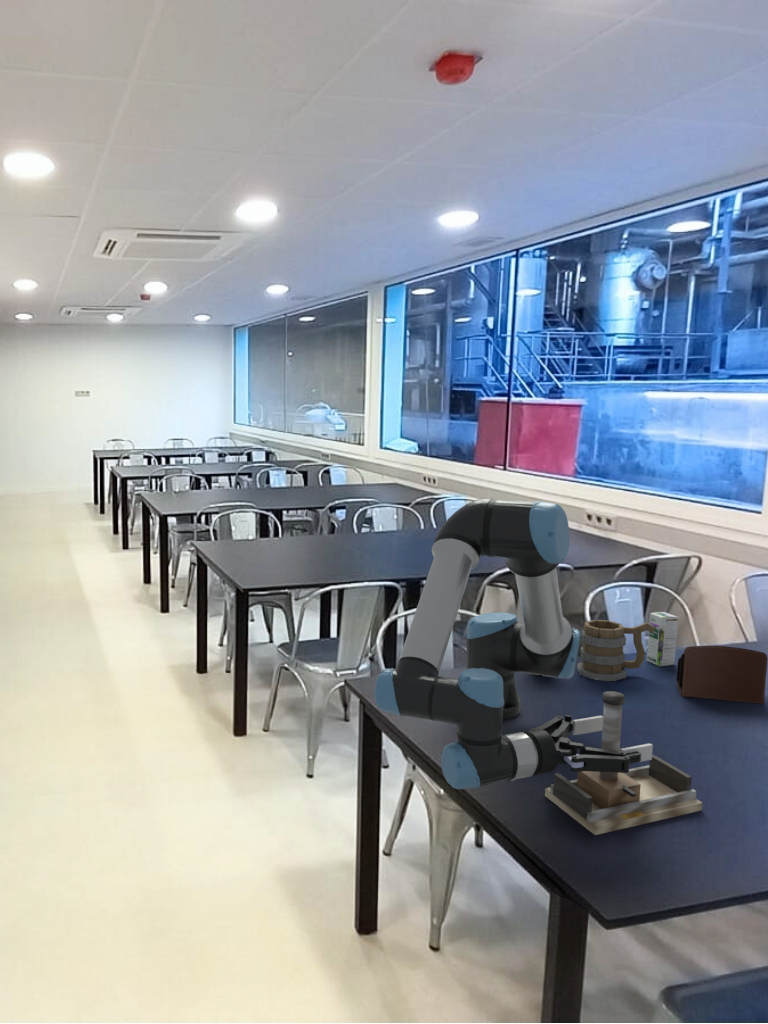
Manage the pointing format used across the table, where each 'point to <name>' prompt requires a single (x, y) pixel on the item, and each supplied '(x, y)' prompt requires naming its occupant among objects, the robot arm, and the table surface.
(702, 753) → the table surface
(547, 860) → the table surface
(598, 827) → the press bed
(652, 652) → the syrup box
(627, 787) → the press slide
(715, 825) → the table surface
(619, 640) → the tankard
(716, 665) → the letter holder
